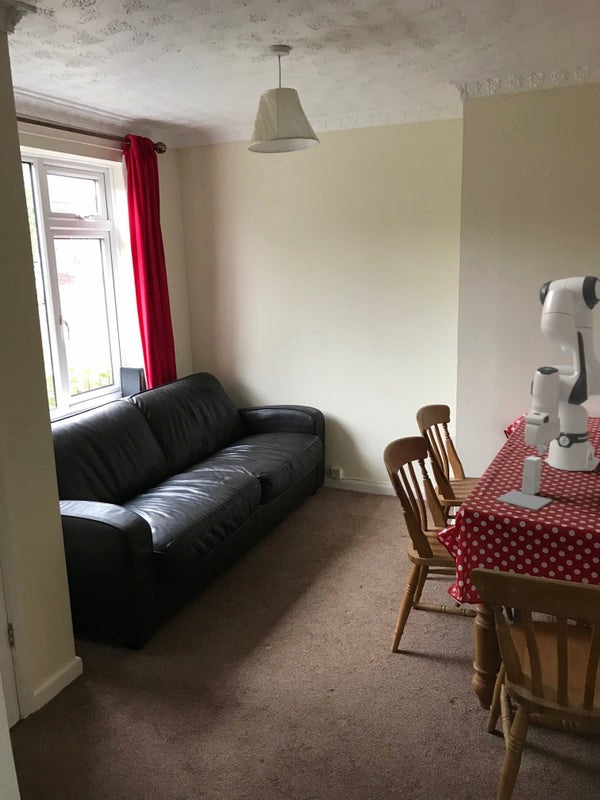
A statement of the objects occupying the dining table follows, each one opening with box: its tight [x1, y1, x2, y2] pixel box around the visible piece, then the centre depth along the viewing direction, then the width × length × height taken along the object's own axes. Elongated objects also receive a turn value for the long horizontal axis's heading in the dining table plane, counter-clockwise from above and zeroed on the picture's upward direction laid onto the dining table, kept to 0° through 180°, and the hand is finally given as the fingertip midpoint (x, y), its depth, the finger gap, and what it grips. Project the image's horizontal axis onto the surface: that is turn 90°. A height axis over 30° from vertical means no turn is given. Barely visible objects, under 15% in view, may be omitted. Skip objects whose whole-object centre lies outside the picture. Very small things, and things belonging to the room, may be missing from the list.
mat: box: [495, 489, 553, 512], centre depth 221 cm, size 12×14×1 cm
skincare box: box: [521, 455, 543, 495], centre depth 227 cm, size 6×4×12 cm
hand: (542, 454), depth 230 cm, fingers closed
